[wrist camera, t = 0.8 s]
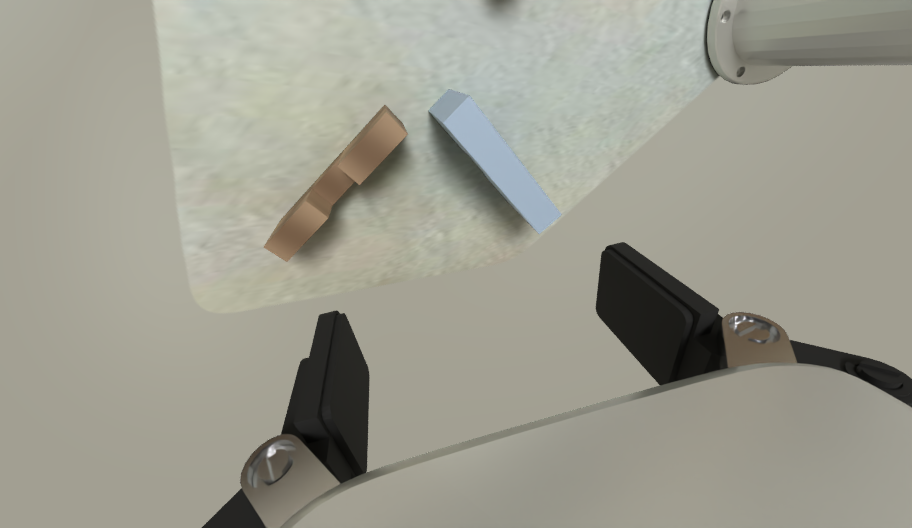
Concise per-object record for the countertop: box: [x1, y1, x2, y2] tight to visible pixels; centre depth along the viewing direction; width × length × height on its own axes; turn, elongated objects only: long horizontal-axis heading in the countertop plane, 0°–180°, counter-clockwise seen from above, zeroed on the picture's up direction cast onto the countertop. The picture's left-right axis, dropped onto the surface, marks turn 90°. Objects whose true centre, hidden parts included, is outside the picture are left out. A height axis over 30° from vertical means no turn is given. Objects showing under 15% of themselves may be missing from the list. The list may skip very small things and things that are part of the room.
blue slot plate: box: [428, 89, 562, 234], centre depth 28 cm, size 12×2×8 cm, turn 42°
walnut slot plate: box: [264, 105, 408, 262], centre depth 27 cm, size 14×2×6 cm, turn 132°
